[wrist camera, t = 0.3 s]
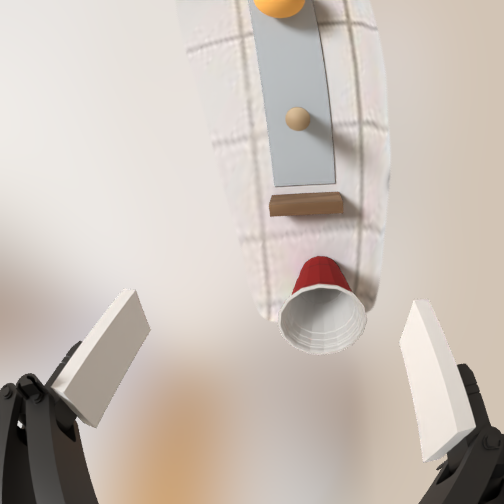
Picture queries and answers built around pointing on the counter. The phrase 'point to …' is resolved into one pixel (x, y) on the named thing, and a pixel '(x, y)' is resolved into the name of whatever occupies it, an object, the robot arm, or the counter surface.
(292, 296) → the plastic cup
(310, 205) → the board
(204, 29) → the counter surface
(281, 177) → the lane mark
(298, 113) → the pin
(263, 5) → the ball
